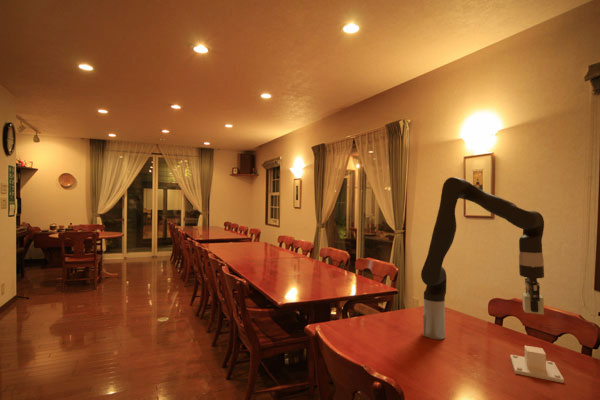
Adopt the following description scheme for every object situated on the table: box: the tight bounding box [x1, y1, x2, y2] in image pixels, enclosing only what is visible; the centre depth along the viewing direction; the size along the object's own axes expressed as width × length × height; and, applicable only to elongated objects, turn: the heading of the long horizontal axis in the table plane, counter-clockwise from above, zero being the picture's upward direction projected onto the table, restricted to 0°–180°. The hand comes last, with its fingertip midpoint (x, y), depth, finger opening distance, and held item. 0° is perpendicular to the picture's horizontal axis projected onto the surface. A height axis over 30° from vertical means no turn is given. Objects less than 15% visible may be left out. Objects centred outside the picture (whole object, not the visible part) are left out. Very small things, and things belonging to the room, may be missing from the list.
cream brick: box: [524, 345, 547, 371], centre depth 119 cm, size 6×6×6 cm
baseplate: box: [509, 354, 565, 384], centre depth 119 cm, size 14×14×2 cm
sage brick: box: [521, 292, 545, 316], centre depth 119 cm, size 6×6×6 cm
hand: (533, 309), depth 119 cm, fingers closed on sage brick, 5 cm apart
